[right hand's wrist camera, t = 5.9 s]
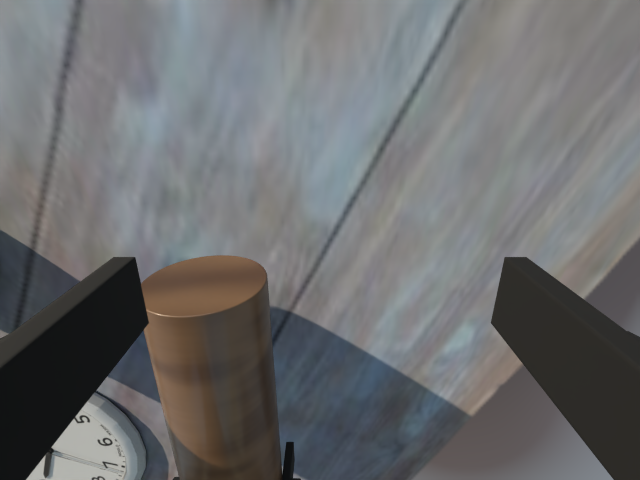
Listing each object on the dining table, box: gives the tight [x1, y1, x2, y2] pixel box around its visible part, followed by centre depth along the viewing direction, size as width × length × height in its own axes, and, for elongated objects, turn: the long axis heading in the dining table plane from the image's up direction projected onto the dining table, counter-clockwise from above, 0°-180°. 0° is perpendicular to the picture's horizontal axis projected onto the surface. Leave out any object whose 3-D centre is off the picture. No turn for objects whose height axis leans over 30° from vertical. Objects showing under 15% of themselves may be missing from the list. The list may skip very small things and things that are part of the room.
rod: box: [141, 256, 282, 480], centre depth 30 cm, size 27×9×9 cm, turn 1°
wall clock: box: [26, 392, 146, 480], centre depth 55 cm, size 30×2×30 cm
